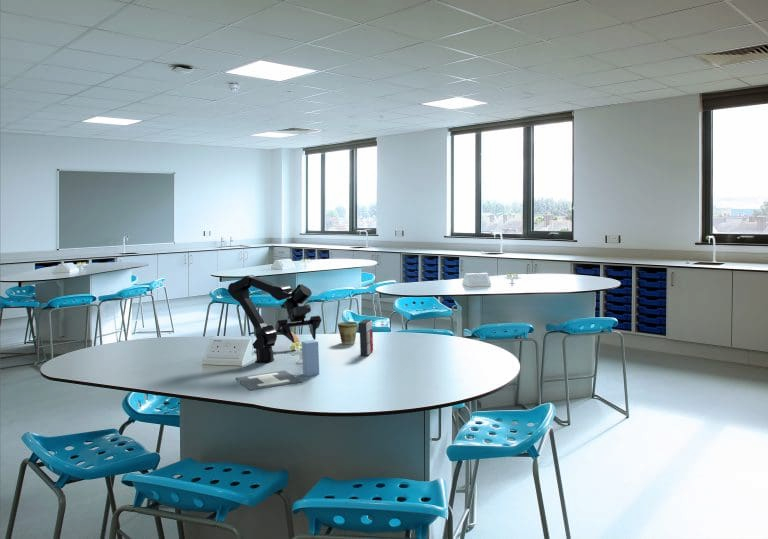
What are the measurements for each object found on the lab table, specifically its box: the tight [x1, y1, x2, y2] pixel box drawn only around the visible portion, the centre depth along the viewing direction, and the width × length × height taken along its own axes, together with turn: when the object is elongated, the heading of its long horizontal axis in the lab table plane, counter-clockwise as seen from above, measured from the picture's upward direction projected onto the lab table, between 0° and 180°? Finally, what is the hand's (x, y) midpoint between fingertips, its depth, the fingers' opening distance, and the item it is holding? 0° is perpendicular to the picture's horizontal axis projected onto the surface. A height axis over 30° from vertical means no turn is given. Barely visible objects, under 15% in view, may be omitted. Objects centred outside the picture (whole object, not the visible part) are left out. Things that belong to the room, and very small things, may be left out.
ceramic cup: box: [337, 321, 359, 345], centre depth 300 cm, size 13×10×10 cm
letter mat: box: [236, 370, 303, 391], centre depth 231 cm, size 20×20×1 cm
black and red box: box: [357, 318, 374, 357], centre depth 273 cm, size 11×4×15 cm, turn 168°
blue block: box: [301, 339, 320, 377], centre depth 239 cm, size 5×5×13 cm
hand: (304, 340), depth 244 cm, fingers open, 9 cm apart
